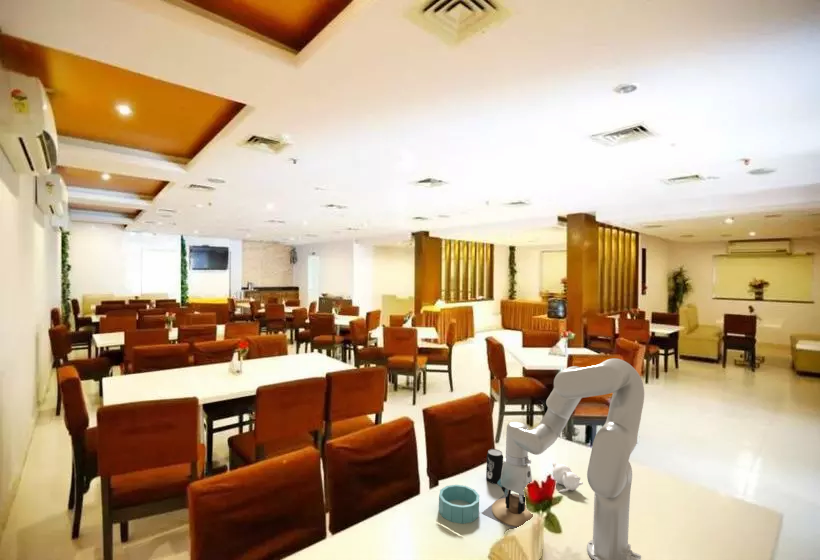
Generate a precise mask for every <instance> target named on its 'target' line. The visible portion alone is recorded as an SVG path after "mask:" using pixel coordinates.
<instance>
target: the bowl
mask: <svg viewBox="0 0 820 560" xmlns="http://www.w3.org/2000/svg"><path fill="white" fill-rule="evenodd" d="M438 512H439V514H440V515H441V517H442V518H443V519H445V520H447V521H449V522H450V523H454V524H455V523H457V524H462V525H463V524H468V523H473V522H474V521H475V520H477V519H478V518H479V516H480V515H479V514H480V494H479V493H478V492H477V491H476V490H475V489H473V488H472V487H469V486H466V485H463V484H462V485H461V484H451V485H446V486H444V487H443V488H441V489H440V490H439V495H438Z"/></svg>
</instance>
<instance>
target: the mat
mask: <svg viewBox="0 0 820 560" xmlns="http://www.w3.org/2000/svg"><path fill="white" fill-rule="evenodd" d="M502 498H506V496H505V495H504V494H503V495H502V496H500V498H498V499H497V500H499V499H502ZM492 505H493V503H492V504H491V505H489V506H488V507H487V508H486V509H485V510H482V512H481V514H482V515H484V516H486V517H488V518H490V519H493V520H494V521H496V522H498V523H500V524H503V525H505V526H506V527H508V528H511V529H512V528H517V527H514V526H510V525H507V524H505V523H503V522H501V521H499V520H498V519H497V518H496V517H495V516H494V515H493V513H492Z"/></svg>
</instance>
